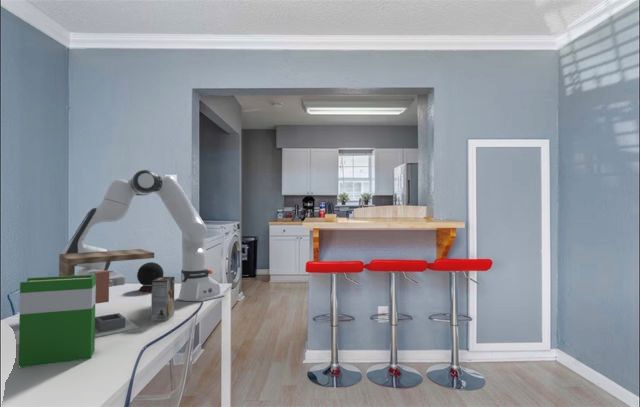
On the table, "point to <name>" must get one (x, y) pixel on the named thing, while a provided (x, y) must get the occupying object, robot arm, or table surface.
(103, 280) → the peg
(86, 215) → the robot arm
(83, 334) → the hardback book
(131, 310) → the table surface
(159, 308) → the coffee box
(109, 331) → the socket
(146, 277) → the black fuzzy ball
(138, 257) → the l-shaped wooden plank
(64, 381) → the table surface
